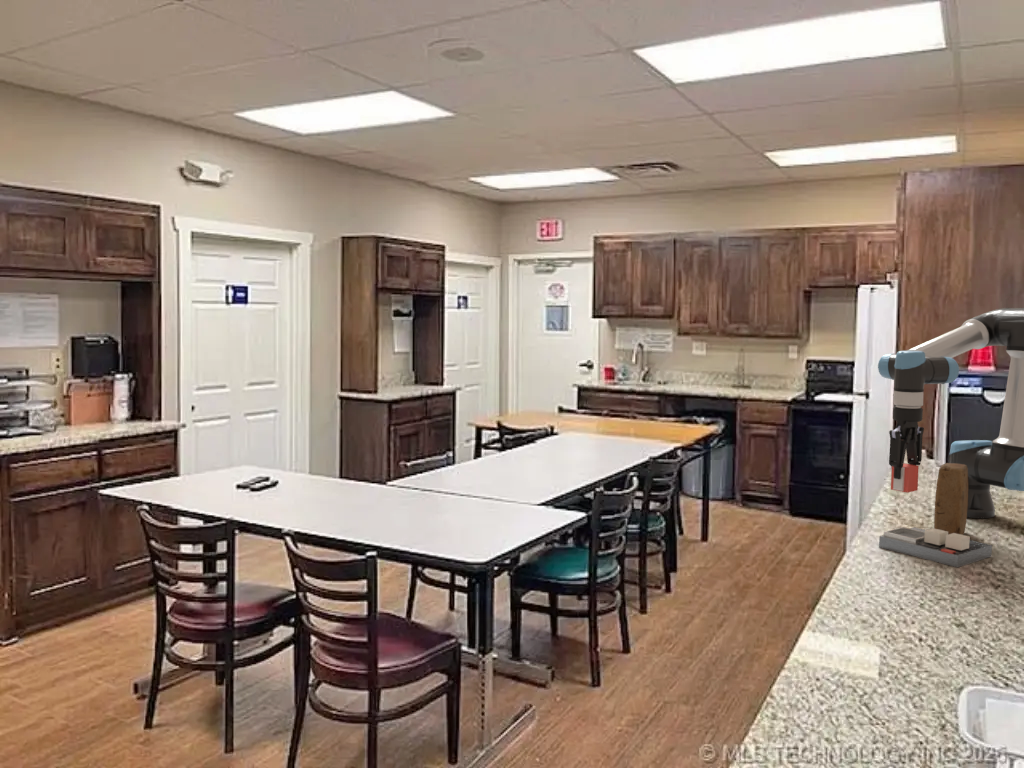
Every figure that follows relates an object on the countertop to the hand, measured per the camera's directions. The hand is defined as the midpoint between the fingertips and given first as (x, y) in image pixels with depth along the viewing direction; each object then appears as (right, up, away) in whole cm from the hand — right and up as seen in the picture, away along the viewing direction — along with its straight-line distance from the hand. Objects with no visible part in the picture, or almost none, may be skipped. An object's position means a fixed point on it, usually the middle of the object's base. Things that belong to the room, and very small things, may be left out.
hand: (904, 488), depth 238 cm
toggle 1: (0, -12, -18) cm, 21 cm away
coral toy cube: (0, 0, 0) cm, 0 cm away
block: (+15, -14, +5) cm, 21 cm away
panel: (+1, -15, -14) cm, 20 cm away
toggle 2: (+3, -12, -22) cm, 25 cm away
